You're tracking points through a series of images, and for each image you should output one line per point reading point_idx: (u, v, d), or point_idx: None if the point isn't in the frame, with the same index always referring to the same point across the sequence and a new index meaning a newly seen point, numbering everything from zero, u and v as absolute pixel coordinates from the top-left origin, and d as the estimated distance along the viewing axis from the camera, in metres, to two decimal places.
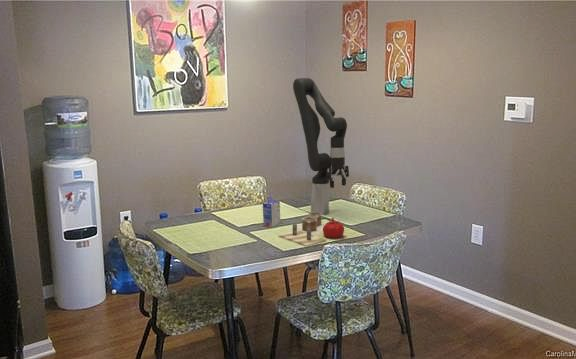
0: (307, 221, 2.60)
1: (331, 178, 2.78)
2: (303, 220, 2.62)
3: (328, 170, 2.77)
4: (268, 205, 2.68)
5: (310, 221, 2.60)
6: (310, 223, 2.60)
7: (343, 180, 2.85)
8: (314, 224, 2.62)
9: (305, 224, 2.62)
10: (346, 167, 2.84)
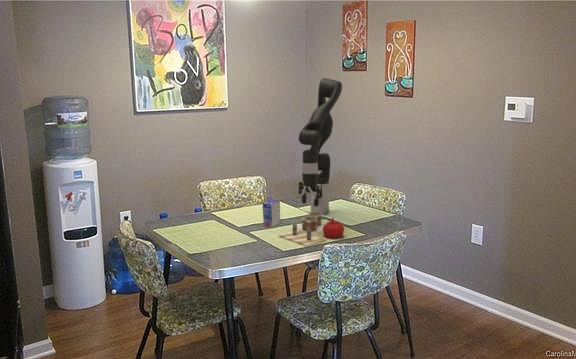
0: (307, 221, 2.60)
1: None
2: (303, 220, 2.62)
3: (320, 187, 2.54)
4: (268, 205, 2.68)
5: (310, 221, 2.60)
6: (310, 223, 2.60)
7: (305, 197, 2.64)
8: (314, 224, 2.62)
9: (305, 224, 2.62)
10: None
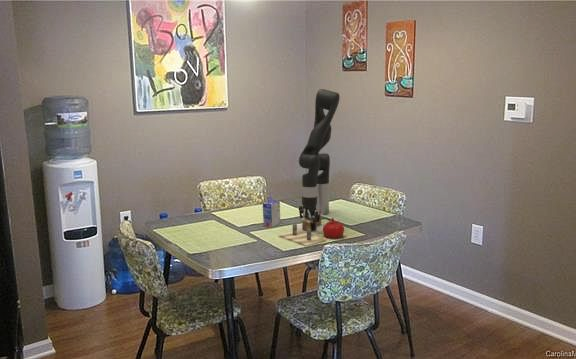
0: (307, 221, 2.60)
1: None
2: (303, 220, 2.62)
3: (319, 213, 2.57)
4: (268, 205, 2.68)
5: (310, 221, 2.60)
6: (310, 223, 2.60)
7: None
8: None
9: (305, 224, 2.62)
10: None
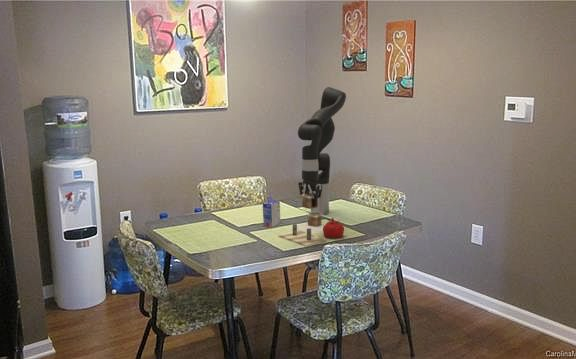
0: (308, 197, 2.42)
1: None
2: (304, 197, 2.44)
3: (320, 188, 2.39)
4: (268, 205, 2.68)
5: (311, 197, 2.41)
6: (311, 199, 2.42)
7: None
8: None
9: (305, 200, 2.43)
10: None
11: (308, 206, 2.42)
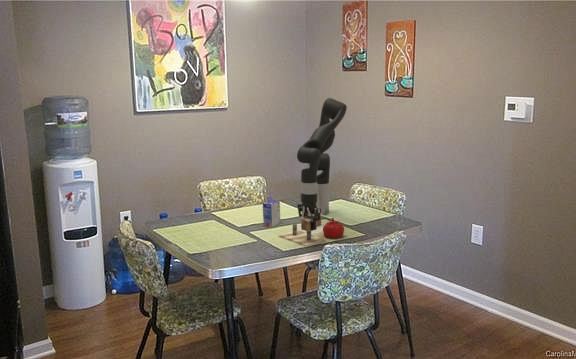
0: (306, 220, 2.41)
1: None
2: (302, 219, 2.44)
3: (319, 211, 2.38)
4: (268, 205, 2.68)
5: (310, 220, 2.41)
6: (310, 222, 2.41)
7: None
8: None
9: (304, 223, 2.43)
10: None
11: (307, 229, 2.42)
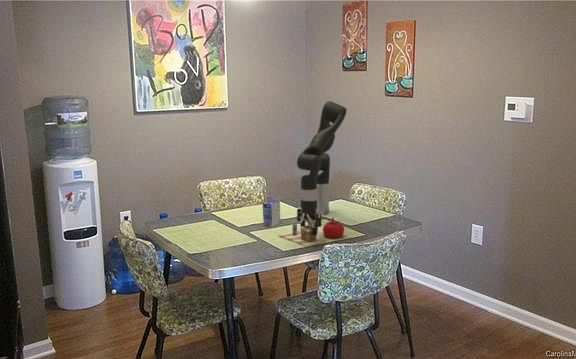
0: (306, 230, 2.42)
1: None
2: (302, 229, 2.45)
3: (319, 216, 2.39)
4: (268, 205, 2.68)
5: (309, 230, 2.42)
6: (309, 232, 2.42)
7: (303, 225, 2.48)
8: None
9: (304, 233, 2.44)
10: None
11: (306, 239, 2.43)
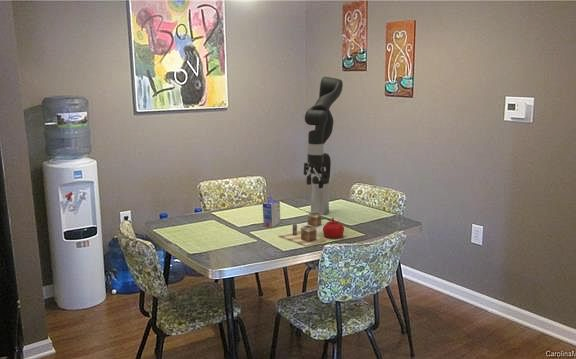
0: (306, 230, 2.42)
1: None
2: (302, 229, 2.45)
3: (325, 169, 2.48)
4: (268, 205, 2.68)
5: (309, 230, 2.42)
6: (309, 232, 2.42)
7: (309, 179, 2.58)
8: (314, 233, 2.44)
9: (304, 233, 2.44)
10: None
11: (306, 239, 2.43)
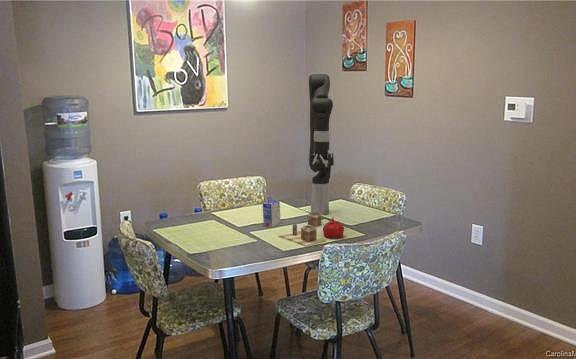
0: (306, 230, 2.42)
1: None
2: (302, 229, 2.45)
3: (331, 155, 2.55)
4: (268, 205, 2.68)
5: (309, 230, 2.42)
6: (309, 232, 2.42)
7: (316, 166, 2.64)
8: (314, 233, 2.44)
9: (304, 233, 2.44)
10: None
11: (306, 239, 2.43)
